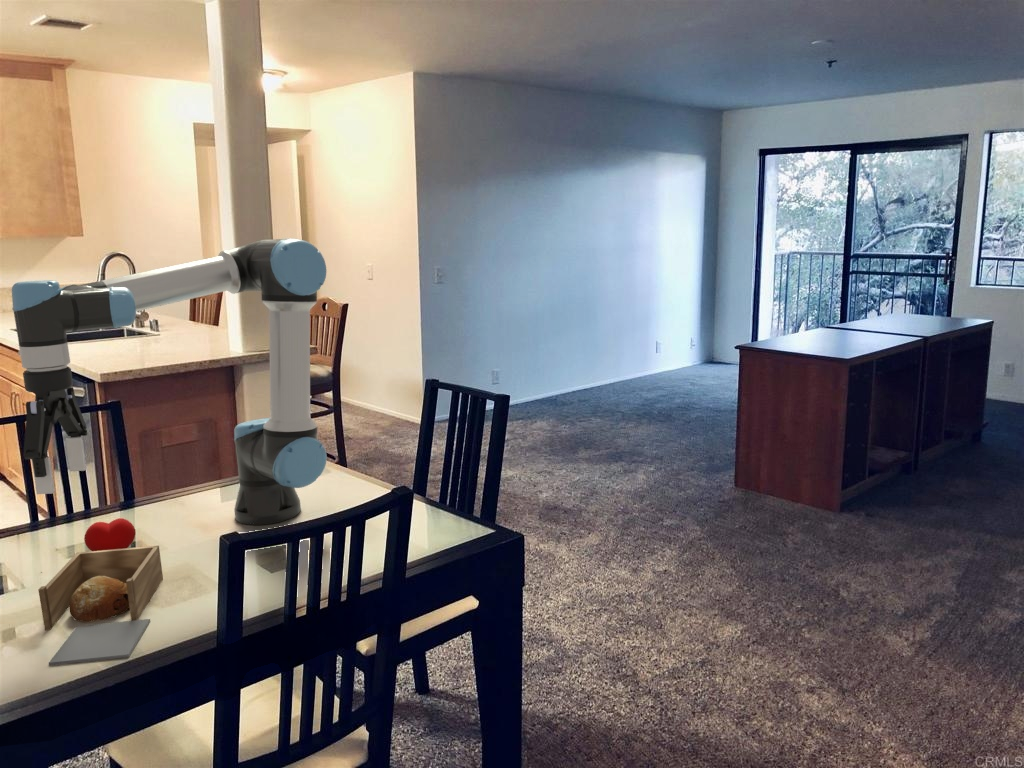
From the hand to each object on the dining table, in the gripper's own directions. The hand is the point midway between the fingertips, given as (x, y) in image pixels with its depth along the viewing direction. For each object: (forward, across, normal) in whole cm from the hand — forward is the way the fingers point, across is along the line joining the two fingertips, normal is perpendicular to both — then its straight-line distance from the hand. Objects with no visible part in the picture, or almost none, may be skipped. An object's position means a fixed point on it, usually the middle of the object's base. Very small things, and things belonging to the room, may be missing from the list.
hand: (62, 481), depth 147 cm
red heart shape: (+23, -12, +2) cm, 26 cm away
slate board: (+22, +20, +11) cm, 32 cm away
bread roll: (+23, +7, +7) cm, 25 cm away
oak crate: (+22, +4, +7) cm, 24 cm away
